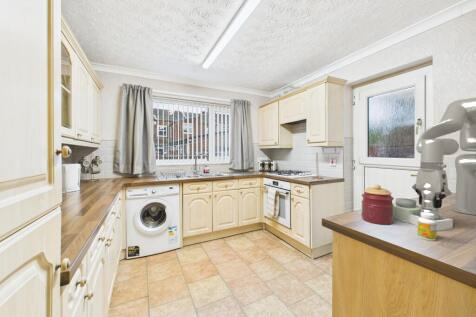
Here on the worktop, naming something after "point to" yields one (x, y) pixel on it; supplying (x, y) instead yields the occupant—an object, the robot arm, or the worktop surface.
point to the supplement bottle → (427, 226)
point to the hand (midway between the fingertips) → (429, 205)
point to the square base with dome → (416, 214)
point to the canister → (377, 205)
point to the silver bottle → (428, 200)
